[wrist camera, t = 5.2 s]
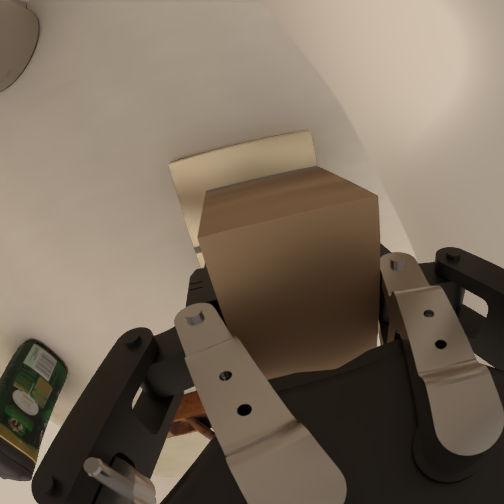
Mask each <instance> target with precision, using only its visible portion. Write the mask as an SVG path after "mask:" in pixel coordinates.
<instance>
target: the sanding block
mask: <svg viewBox="0 0 504 504" xmlns="http://www.w3.org/2000/svg"><path fill="white" fill-rule="evenodd" d="M197 239H198V242H199V245H200V248H201V251H202V255H203V258H204V261H205V264H206V267H207V270H208V273H209V276H210V279H211V282H212V285H213V288H214V291H215V294H216V297H217V300H218V303H219V306H220V309H221V311H222V314H223V317H224V320H225V323H226V326H227V328H228V330H229V332H230V333H231V335H232V337H234V336H237V337H238V339H239V340H240V341H241V343H242V344H243V346H244V347H245V349H246V350H247V352H248V353H249V355H250V356H251V358H252V359H253V361H254V362H255V364H256V365H257V366H258V368H259V369H260V371H261V372H262V374H263V375H264V376H265V378H266V379H267V380H269V379H273V378H277V377H281V376H285V375H289V374H293V373H297V372H309V371H321V370H331V369H336V368H339V367H341V366H343V365H344V364H346V363H348V362H349V361H351V360H353V359H355V358H356V357H358V356H359V355H361V354H363V353H364V352H366V351H368V350H370V349H373V348H376V347H377V335H378V321H379V302H380V225H379V205H378V196H377V195H376V194H374V193H372V192H370V191H368V190H366V189H364V188H362V187H360V186H358V185H356V184H354V183H352V182H350V181H348V180H346V179H344V178H341V177H339V176H337V175H335V174H333V173H331V172H329V171H327V170H324V169H322V168H320V167H318V166H312V167H307V168H302V169H297V170H292V171H288V172H283V173H278V174H274V175H269V176H265V177H260V178H256V179H251V180H247V181H243V182H239V183H235V184H231V185H227V186H223V187H219V188H215V189H211V190H207V191H206V193H205V198H204V203H203V209H202V214H201V220H200V225H199V231H198V237H197Z"/></svg>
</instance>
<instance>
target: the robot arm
mask: <svg viewBox="0 0 504 504" xmlns="http://www.w3.org/2000/svg"><path fill="white" fill-rule="evenodd" d="M38 31H39V26H38V20H37V17H36V15H35V14H34V13H33V12H32V11H30V10H28V9H27V8H26V3H25V2H23V1H21V0H0V92H1V91H2V90H4V89H6V88H7V87H8V86H10V85H11V84H12V83H13V82H14V81H15V80H16V79H17V78H18V76H19V75H20V74H21V73H22V71H23V70H24V68H25V67H26V65H27V63H28V61H29V59H30V58H31V56H32V53H33V51H34V48H35V45H36V42H37V38H38ZM465 289H466V290H468V291H470V292H471V293H474V294H475V295H477V296H479V297H481V298H482V299H484V300H485V301H486V303H487V305H488V314H487V317H486V318H485V317H484V316H482V315H480V314H479V313H477V312H476V311H474V310H472V309H470V308H469V307H467V306H465V305H463V304H462V302H463V297H464V293H465ZM174 324H175V327H173V328H171V329H170V330H167V331H165V332H163V333H161V334H158V335H156V336H154V335H153V333H152V332H151V330H150V329H148V328H144V327H139V328H135V329H132V330H129V331H127V332H126V333H124V334H123V335H122V336H121V337H120V338H119V339H118V340H117V342H116V343H115V344H114V346H113V347H112V349H111V350H110V352H109V353H108V355H107V356H106V358H105V359H104V361H103V362H102V364H101V365H100V367H99V368H98V370H97V371H96V373H95V374H94V376H93V377H92V379H91V380H90V382H89V383H88V385H87V387H86V388H85V390H84V391H83V393H82V394H81V396H80V398H79V399H78V401H77V402H76V404H75V405H74V407H73V409H72V410H71V412H70V414H69V415H68V417H67V419H66V420H65V422H64V423H63V425H62V427H61V429H60V430H59V432H58V434H57V435H56V437H55V439H54V440H53V442H52V444H51V446H50V447H49V449H48V451H47V453H46V454H45V456H44V458H43V460H42V462H41V464H40V465H39V467H38V469H37V471H36V473H35V475H34V477H33V480H32V493H33V496H34V499H35V500H36V502H37V503H39V504H156V498H155V487H154V485H153V483H152V482H151V480H150V478H151V476H152V473H153V470H154V468H155V465H156V463H157V460H158V458H159V455H160V453H161V450H162V448H163V445H164V443H165V440H166V437H167V435H168V432H169V430H170V427H171V425H172V422H173V420H174V417H175V415H176V412H177V410H178V407H179V405H180V402H181V400H182V397H183V394H184V390H187V389H189V388H191V387H193V386H195V387H196V390H197V392H198V395H199V397H200V400H201V402H202V405H203V407H204V409H205V412H206V414H207V416H208V419H209V421H210V423H211V426H212V428H213V430H214V432H215V436H214V437H213V438H212V440H211V441H210V442H209V444H208V445H207V446H206V447H205V449H204V450H203V451H202V453H201V454H200V455H199V457H198V458H197V459H196V460H195V462H194V463H193V464H192V465H191V467H190V468H189V469H188V470H187V472H186V473H185V474H184V475H183V477H182V478H181V479H180V480H179V482H178V483H177V484H176V485H175V486H174V488H173V489H172V490H171V491H170V492H169V494H168V495H167V496H166V497H165V498H164V499H163V501H162V502H161V503H160V504H504V269H503V268H501V267H499V266H497V265H495V264H493V263H491V262H488V261H486V260H484V259H482V258H480V257H477V256H475V255H473V254H471V253H469V252H466V251H464V250H462V249H459V248H454V247H446V248H442V249H440V250H438V251H437V252H436V257H435V262H431V263H422V264H418V263H417V261H416V259H415V258H414V257H413V256H411V255H409V254H406V253H401V252H393V253H391V252H390V251H389V250H388V249H387V248H385V247H384V246H383V245H382V244H381V243H380V302H379V321H378V333H379V338H380V343H381V346H378V347H376V348H373V349H370V350H368V351H366V352H364V353H363V354H361V355H359V356H358V357H356V358H355V359H353V360H351V361H349V362H348V363H346V364H344V365H343V366H341V367H339V368H336V369H331V370H321V371H309V372H297V373H293V374H289V375H285V376H281V377H277V378H273V379H269V380H267V379H266V378H265V376H264V375H263V374H262V372H261V371H260V369H259V368H258V366H257V365H256V364H255V362H254V361H253V359H252V358H251V356H250V355H249V353H248V352H247V350H246V349H245V347H244V346H243V344H242V343H241V341H240V340H239V339H238V337H237V336H234V337H232V335H231V333H230V332H229V330H228V328H227V326H226V323H225V320H224V317H223V314H222V311H221V309H220V306H219V303H218V300H217V297H216V294H215V291H214V288H213V285H212V282H211V279H210V276H209V273H208V270H207V267H206V264H205V265H204V268H200V269H196V270H195V271H194V273H193V274H192V275H191V277H190V281H189V288H188V295H187V302H186V307H185V308H184V309H182V310H181V311H180V312H179V313H178V314H177V315H176V317H175V319H174ZM474 353H475V354H476V355H478V356H479V357H481V358H482V359H483V360H485V361H487V362H488V363H489V364H490V365H492V366H493V367H495V368H493V367H490V366H487V365H484V364H481V363H479V362H478V361H477V360H476V357H475V355H474ZM139 387H141V388H142V389H143V390H142V392H141V394H140V396H139V398H138V400H137V402H136V404H135V406H134V408H133V410H132V402H133V399H134V397H135V395H136V393H137V391H138V389H139Z"/></svg>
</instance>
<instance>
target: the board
mask: <svg viewBox="0 0 504 504" xmlns="http://www.w3.org/2000/svg"><path fill="white" fill-rule="evenodd" d="M168 165H169V168H170V171H171V175H172V178H173V182H174V185H175V189H176V192H177V195H178V198H179V202H180V205H181V208H182V211H183V215H184V218H185V221H186V224H187V227H188V230H189V234H190V237H191V240H192V243H193V246H194V249H195V252H196V255H197V258H198V261H199V264H200V267H201V268H204V265H205V261H204V258H203V255H202V251H201V248H200V245H199V242H198V239H197V237H198V231H199V225H200V220H201V214H202V209H203V203H204V198H205V193H206V191H207V190H211V189H215V188H219V187H223V186H227V185H231V184H235V183H239V182H243V181H247V180H251V179H256V178H260V177H265V176H269V175H274V174H278V173H283V172H288V171H292V170H297V169H302V168H307V167H312V166H317V163H316V157H315V152H314V146H313V141H312V135H311V131H306V130H305V131H299V132H293V133H288V134H283V135H277V136H272V137H267V138H263V139H258V140H253V141H249V142H245V143H240V144H236V145H232V146H228V147H224V148H220V149H216V150H212V151H208V152H205V153H201V154H197V155H194V156H190V157H187V158H183V159H180V160H176V161H173V162H171V163H170V164H168Z"/></svg>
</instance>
